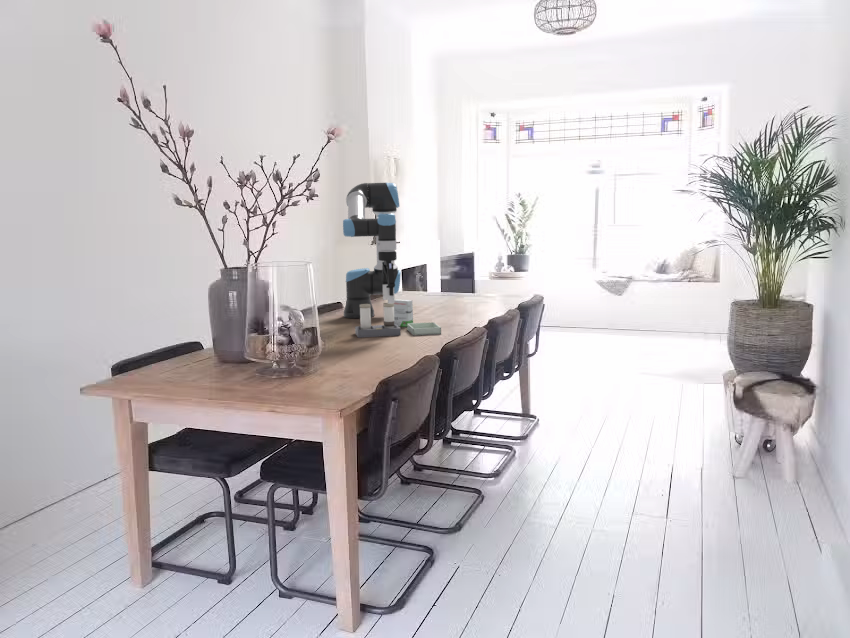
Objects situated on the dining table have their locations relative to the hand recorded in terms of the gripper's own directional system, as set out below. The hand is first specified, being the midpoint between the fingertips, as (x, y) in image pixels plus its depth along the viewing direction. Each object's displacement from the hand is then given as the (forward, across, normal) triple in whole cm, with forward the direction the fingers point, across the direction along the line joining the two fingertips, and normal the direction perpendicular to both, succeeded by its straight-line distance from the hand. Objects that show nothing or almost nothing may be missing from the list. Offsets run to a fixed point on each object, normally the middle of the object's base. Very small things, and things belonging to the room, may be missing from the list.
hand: (388, 301), depth 298 cm
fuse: (+14, 0, -10) cm, 17 cm away
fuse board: (+14, 0, -5) cm, 15 cm away
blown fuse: (+14, 0, 0) cm, 14 cm away
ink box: (+14, -18, +9) cm, 25 cm away
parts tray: (+14, 0, +15) cm, 20 cm away
